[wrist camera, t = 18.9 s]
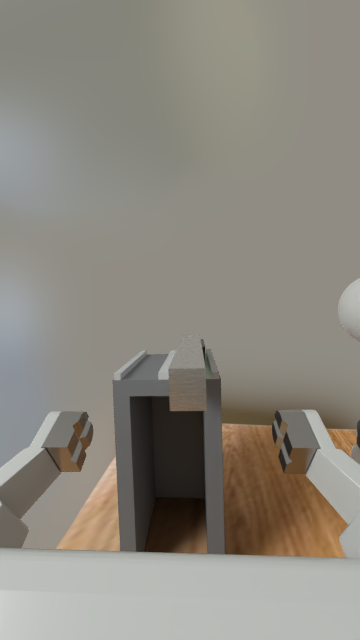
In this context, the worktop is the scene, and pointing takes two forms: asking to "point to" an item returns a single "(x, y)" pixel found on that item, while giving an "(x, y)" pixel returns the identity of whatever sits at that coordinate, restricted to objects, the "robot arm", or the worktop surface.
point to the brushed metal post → (188, 376)
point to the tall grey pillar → (165, 449)
